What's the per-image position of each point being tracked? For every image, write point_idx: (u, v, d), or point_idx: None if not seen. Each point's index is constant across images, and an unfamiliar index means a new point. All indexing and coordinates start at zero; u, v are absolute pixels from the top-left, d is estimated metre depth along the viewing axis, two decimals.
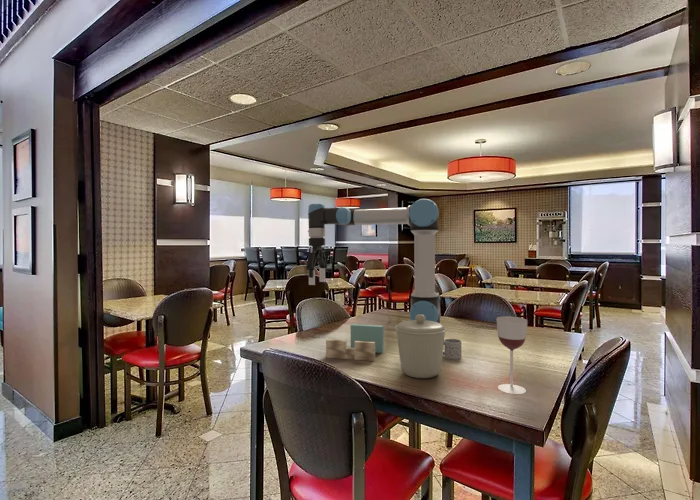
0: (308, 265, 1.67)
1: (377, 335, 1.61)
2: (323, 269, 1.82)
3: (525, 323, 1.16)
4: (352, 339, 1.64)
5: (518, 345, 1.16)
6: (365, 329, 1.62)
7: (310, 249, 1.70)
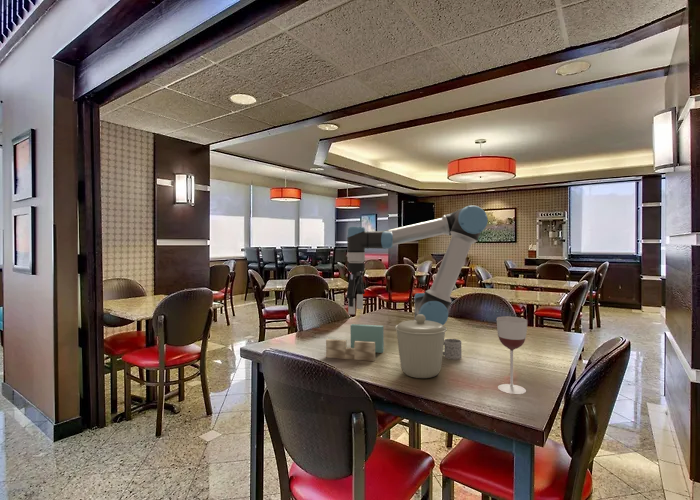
0: (348, 293, 1.55)
1: (377, 335, 1.61)
2: (361, 295, 1.70)
3: (525, 323, 1.16)
4: (352, 339, 1.64)
5: (518, 345, 1.16)
6: (365, 329, 1.62)
7: (350, 276, 1.58)
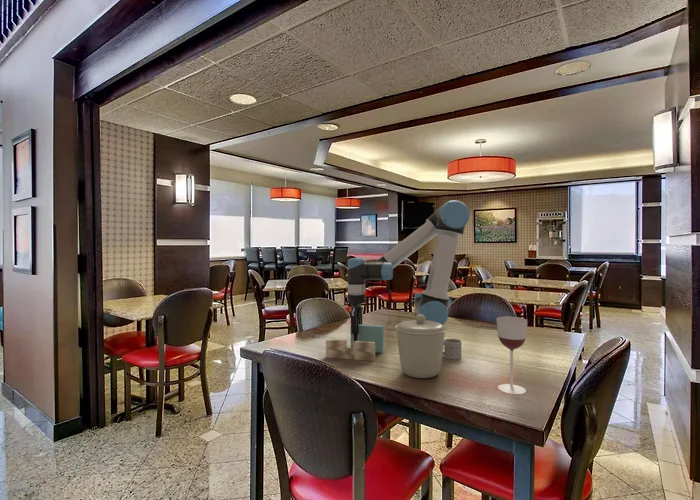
0: (353, 330, 1.60)
1: (377, 335, 1.61)
2: None
3: (525, 323, 1.16)
4: (352, 339, 1.64)
5: (518, 345, 1.16)
6: (365, 329, 1.62)
7: (351, 313, 1.58)
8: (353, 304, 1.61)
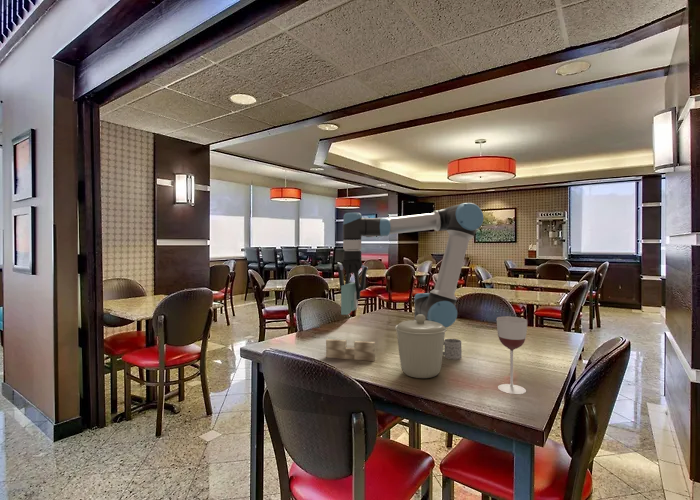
0: None
1: None
2: None
3: (525, 323, 1.16)
4: None
5: (518, 345, 1.16)
6: None
7: None
8: None
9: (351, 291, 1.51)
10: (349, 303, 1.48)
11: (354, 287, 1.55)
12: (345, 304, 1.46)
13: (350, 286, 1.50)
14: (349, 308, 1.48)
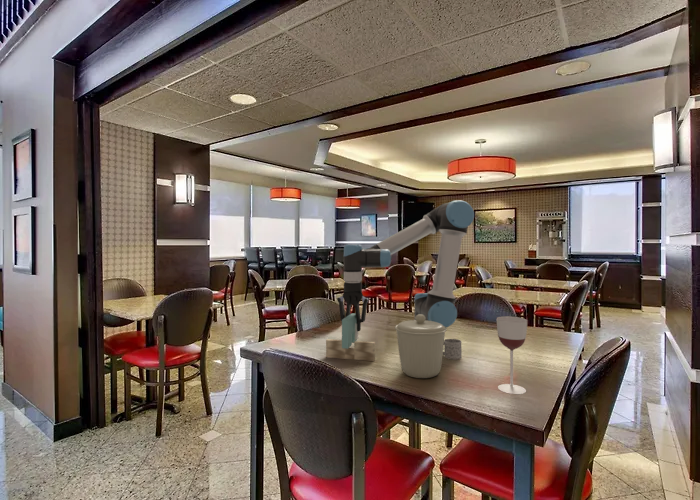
0: None
1: None
2: None
3: (525, 323, 1.16)
4: None
5: (518, 345, 1.16)
6: None
7: None
8: None
9: (351, 324, 1.51)
10: (350, 336, 1.49)
11: (355, 319, 1.56)
12: (346, 338, 1.46)
13: (351, 319, 1.50)
14: (350, 341, 1.49)
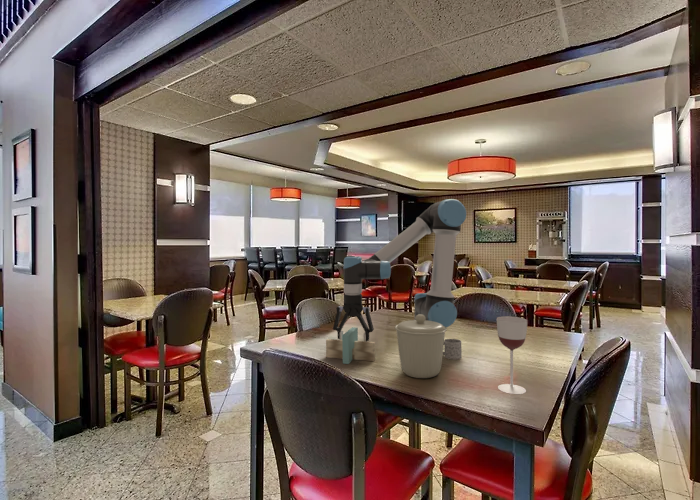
0: None
1: None
2: None
3: (525, 323, 1.16)
4: None
5: (518, 345, 1.16)
6: None
7: None
8: None
9: (352, 339, 1.51)
10: (350, 351, 1.49)
11: (355, 333, 1.56)
12: (346, 353, 1.46)
13: (351, 334, 1.50)
14: (350, 356, 1.49)
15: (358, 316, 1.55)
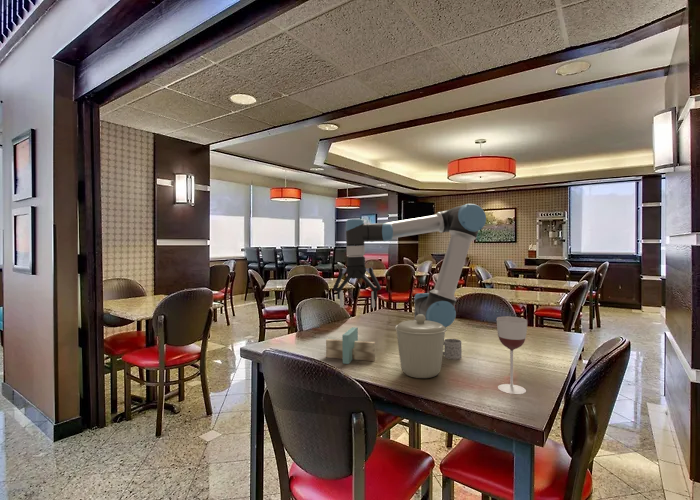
0: None
1: None
2: None
3: (525, 323, 1.16)
4: None
5: (518, 345, 1.16)
6: None
7: None
8: None
9: (352, 339, 1.51)
10: (350, 351, 1.49)
11: (355, 333, 1.56)
12: (346, 353, 1.46)
13: (351, 334, 1.50)
14: (350, 356, 1.49)
15: (363, 277, 1.56)
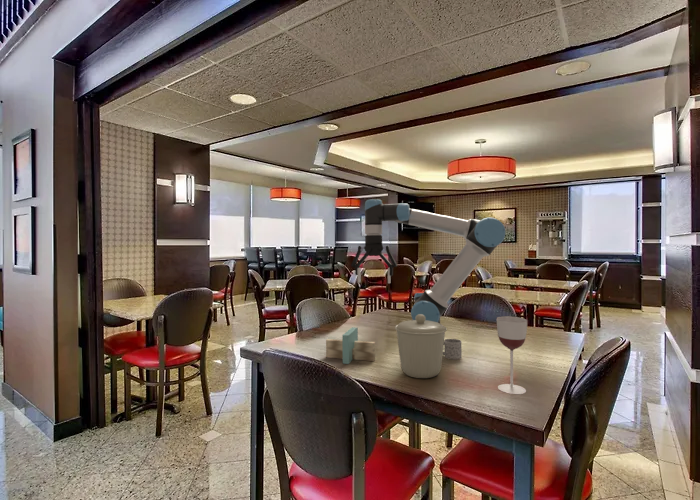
0: None
1: None
2: None
3: (525, 323, 1.16)
4: None
5: (518, 345, 1.16)
6: None
7: None
8: None
9: (352, 339, 1.51)
10: (350, 351, 1.49)
11: (355, 333, 1.56)
12: (346, 353, 1.46)
13: (351, 334, 1.50)
14: (350, 356, 1.49)
15: (380, 254, 1.65)
